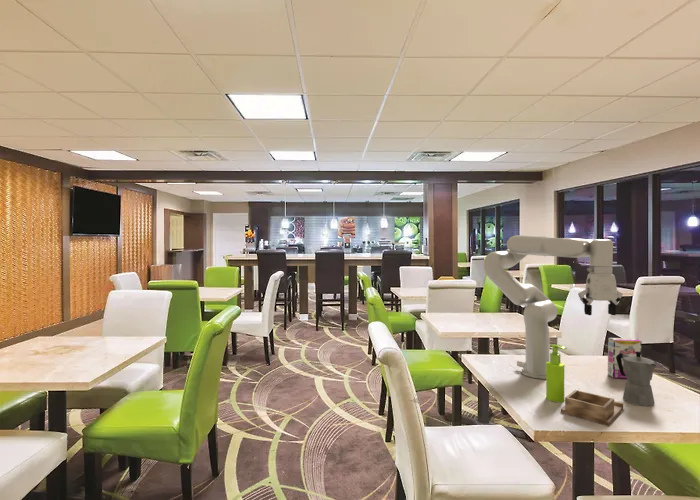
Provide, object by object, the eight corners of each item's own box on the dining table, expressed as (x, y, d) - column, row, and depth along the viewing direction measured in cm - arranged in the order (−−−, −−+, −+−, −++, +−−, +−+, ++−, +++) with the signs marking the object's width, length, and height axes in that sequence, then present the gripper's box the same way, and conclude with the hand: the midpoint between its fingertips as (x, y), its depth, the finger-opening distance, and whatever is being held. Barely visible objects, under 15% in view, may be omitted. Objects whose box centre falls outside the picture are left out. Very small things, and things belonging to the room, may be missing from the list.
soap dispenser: (560, 404, 139) (560, 348, 139) (542, 397, 145) (542, 343, 145) (570, 401, 141) (570, 346, 141) (553, 395, 148) (553, 342, 147)
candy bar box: (613, 379, 165) (613, 340, 165) (607, 375, 170) (607, 337, 170) (642, 379, 164) (642, 340, 164) (634, 375, 169) (634, 337, 169)
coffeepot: (667, 407, 136) (667, 355, 136) (645, 410, 134) (645, 357, 134) (626, 391, 151) (626, 344, 151) (606, 393, 149) (606, 346, 149)
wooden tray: (560, 412, 132) (560, 397, 132) (578, 398, 144) (578, 384, 144) (609, 426, 122) (609, 409, 122) (623, 409, 134) (623, 394, 134)
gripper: (585, 271, 149) (585, 316, 149) (629, 271, 150) (628, 316, 150) (573, 270, 156) (572, 313, 156) (614, 270, 157) (613, 312, 157)
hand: (599, 314), depth 153 cm, fingers open, 9 cm apart
